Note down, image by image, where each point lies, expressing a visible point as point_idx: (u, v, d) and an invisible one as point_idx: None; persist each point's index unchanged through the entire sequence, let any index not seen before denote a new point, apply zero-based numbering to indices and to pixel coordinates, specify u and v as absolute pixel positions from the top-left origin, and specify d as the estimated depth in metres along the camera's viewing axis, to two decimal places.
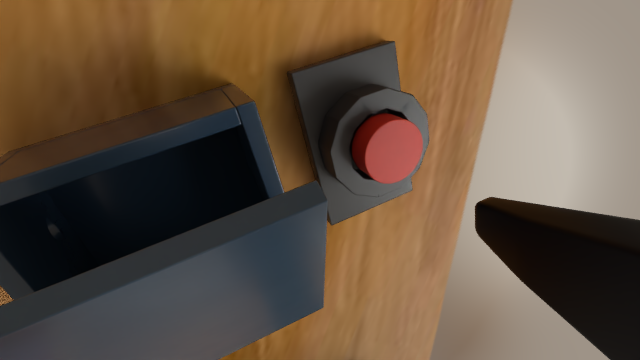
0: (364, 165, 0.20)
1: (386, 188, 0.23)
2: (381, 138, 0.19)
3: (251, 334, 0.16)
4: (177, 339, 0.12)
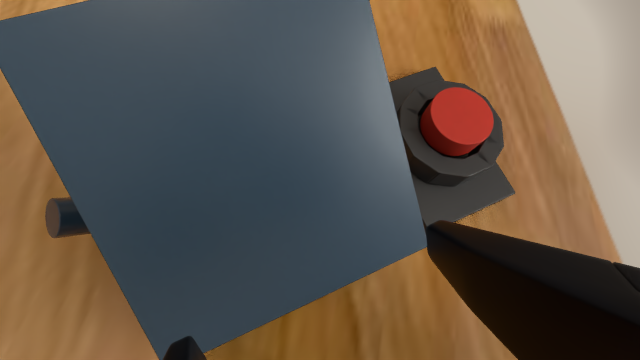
0: (435, 128, 0.20)
1: (474, 166, 0.21)
2: (442, 102, 0.21)
3: (338, 242, 0.14)
4: (252, 147, 0.12)
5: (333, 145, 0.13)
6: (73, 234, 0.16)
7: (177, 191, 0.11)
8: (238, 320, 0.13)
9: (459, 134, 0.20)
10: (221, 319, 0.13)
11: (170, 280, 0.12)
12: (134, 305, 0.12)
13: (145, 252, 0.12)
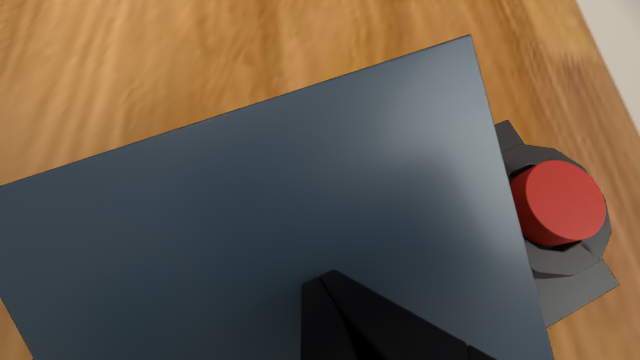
0: (533, 217, 0.16)
1: (578, 262, 0.17)
2: (540, 182, 0.16)
3: None
4: None
5: (446, 307, 0.09)
6: None
7: None
8: None
9: (565, 225, 0.16)
10: None
11: None
12: None
13: None
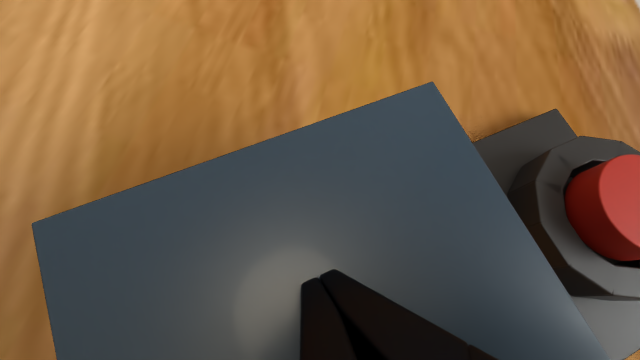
0: (610, 226, 0.13)
1: None
2: (615, 181, 0.13)
3: None
4: None
5: (468, 328, 0.08)
6: None
7: None
8: None
9: None
10: None
11: None
12: None
13: None
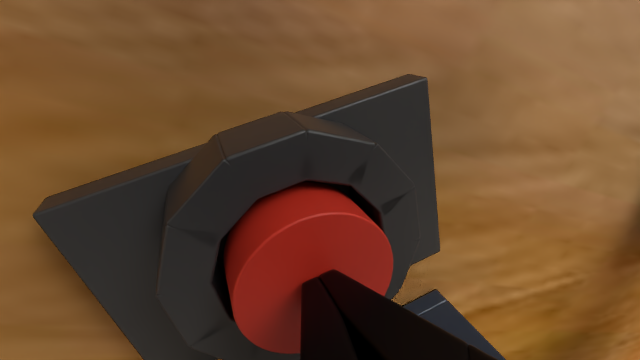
0: None
1: (407, 225, 0.10)
2: (281, 332, 0.08)
3: None
4: None
5: None
6: None
7: None
8: None
9: None
10: None
11: None
12: None
13: None
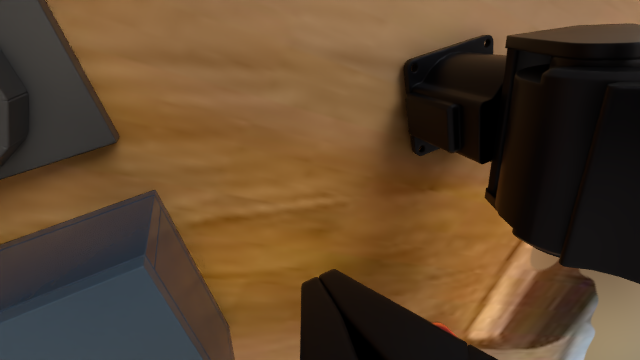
0: None
1: None
2: None
3: (138, 355, 0.14)
4: None
5: None
6: None
7: None
8: None
9: None
10: None
11: None
12: None
13: None
